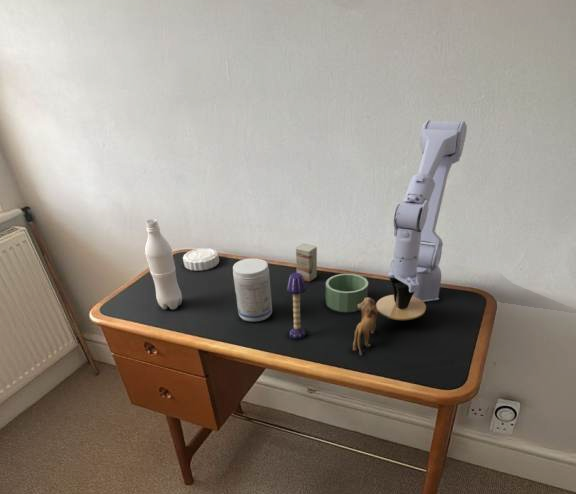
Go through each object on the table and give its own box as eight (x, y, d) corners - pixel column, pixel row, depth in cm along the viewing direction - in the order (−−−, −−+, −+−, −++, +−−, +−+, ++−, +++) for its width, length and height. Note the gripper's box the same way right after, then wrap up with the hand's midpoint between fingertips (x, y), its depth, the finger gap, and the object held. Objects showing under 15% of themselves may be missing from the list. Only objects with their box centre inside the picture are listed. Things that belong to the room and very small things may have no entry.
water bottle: (188, 304, 136) (170, 219, 121) (168, 314, 132) (147, 227, 117) (174, 297, 140) (154, 214, 125) (154, 306, 136) (131, 222, 121)
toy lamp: (292, 328, 123) (289, 269, 112) (309, 330, 122) (307, 271, 111) (287, 338, 119) (283, 278, 109) (304, 340, 118) (302, 280, 108)
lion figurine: (356, 324, 123) (358, 294, 117) (377, 326, 122) (379, 295, 116) (350, 356, 112) (352, 324, 106) (373, 358, 110) (375, 325, 105)
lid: (415, 295, 126) (417, 278, 123) (433, 318, 116) (436, 300, 113) (369, 301, 125) (371, 283, 122) (384, 325, 115) (385, 307, 112)
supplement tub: (240, 306, 134) (234, 258, 125) (273, 305, 133) (269, 256, 124) (237, 324, 126) (230, 274, 117) (272, 322, 126) (267, 272, 117)
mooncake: (179, 270, 155) (177, 260, 153) (191, 256, 164) (189, 246, 162) (213, 271, 153) (212, 261, 151) (223, 256, 163) (222, 246, 160)
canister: (360, 291, 137) (361, 271, 133) (372, 310, 128) (373, 289, 124) (322, 296, 136) (322, 276, 132) (330, 316, 127) (330, 295, 123)
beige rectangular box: (296, 278, 146) (294, 248, 140) (303, 273, 149) (302, 243, 142) (310, 282, 143) (309, 251, 137) (317, 276, 146) (317, 246, 140)
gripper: (381, 244, 116) (377, 293, 125) (400, 269, 105) (395, 320, 114) (408, 241, 117) (402, 290, 125) (430, 265, 106) (422, 317, 114)
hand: (400, 304), depth 119 cm, fingers closed on lid, 2 cm apart
